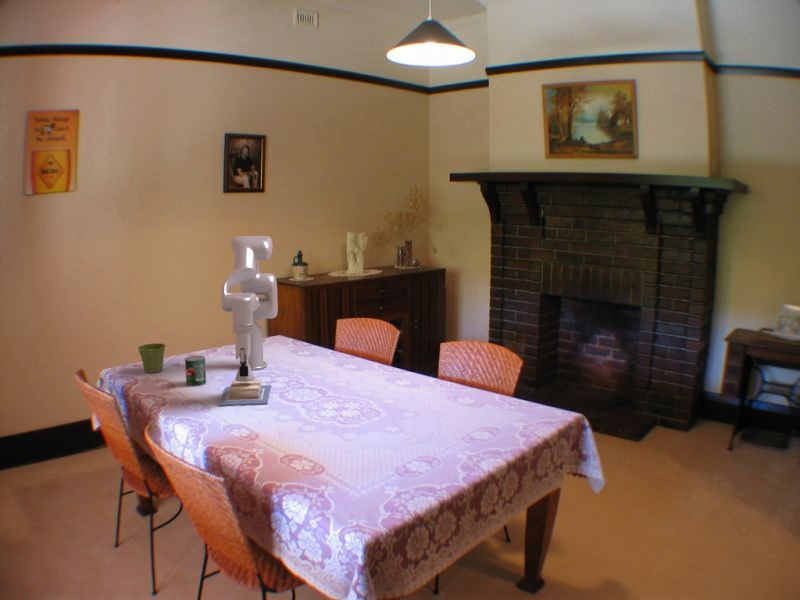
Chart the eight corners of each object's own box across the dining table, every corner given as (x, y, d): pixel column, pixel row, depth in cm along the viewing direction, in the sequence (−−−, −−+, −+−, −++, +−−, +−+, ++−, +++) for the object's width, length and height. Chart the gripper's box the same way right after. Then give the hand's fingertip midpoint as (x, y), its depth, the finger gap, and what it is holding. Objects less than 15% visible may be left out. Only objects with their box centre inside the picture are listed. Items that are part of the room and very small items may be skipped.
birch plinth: (232, 390, 257) (232, 381, 257) (261, 389, 259) (260, 380, 258) (229, 399, 246) (229, 389, 246) (258, 398, 248) (258, 388, 247)
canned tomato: (182, 385, 266) (180, 359, 264) (194, 380, 273) (192, 354, 271) (198, 387, 263) (197, 361, 262) (210, 381, 271) (208, 356, 269)
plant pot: (140, 368, 290) (138, 344, 288) (168, 366, 293) (166, 342, 291) (137, 376, 279) (136, 350, 277) (166, 373, 282) (165, 348, 280)
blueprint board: (225, 388, 262) (225, 386, 262) (270, 386, 265) (270, 384, 264) (218, 406, 241) (217, 404, 241) (267, 404, 243) (267, 402, 243)
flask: (231, 380, 250) (230, 355, 248) (244, 376, 256) (243, 351, 255) (245, 383, 247) (244, 358, 245) (258, 378, 253) (257, 353, 251)
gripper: (235, 323, 256) (237, 368, 259) (230, 333, 239) (232, 380, 242) (255, 323, 257) (256, 367, 260) (250, 333, 240) (252, 380, 243)
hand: (244, 373), depth 251 cm, fingers closed on flask, 5 cm apart
